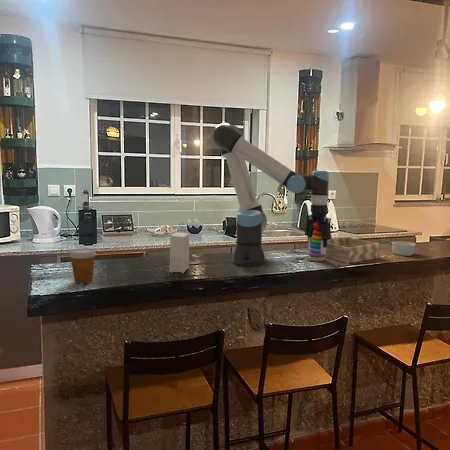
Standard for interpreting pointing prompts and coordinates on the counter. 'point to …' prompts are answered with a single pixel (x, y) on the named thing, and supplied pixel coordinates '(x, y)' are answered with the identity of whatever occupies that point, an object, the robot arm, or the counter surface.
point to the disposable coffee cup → (83, 264)
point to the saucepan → (402, 247)
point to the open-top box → (351, 250)
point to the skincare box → (179, 252)
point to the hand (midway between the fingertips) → (316, 252)
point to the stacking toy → (316, 245)
